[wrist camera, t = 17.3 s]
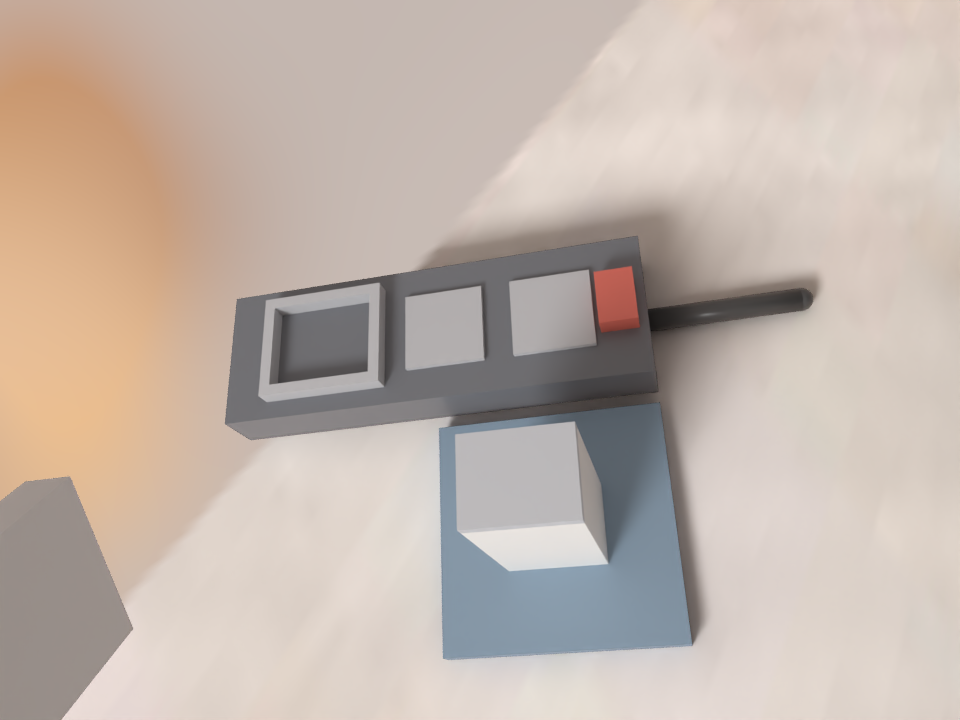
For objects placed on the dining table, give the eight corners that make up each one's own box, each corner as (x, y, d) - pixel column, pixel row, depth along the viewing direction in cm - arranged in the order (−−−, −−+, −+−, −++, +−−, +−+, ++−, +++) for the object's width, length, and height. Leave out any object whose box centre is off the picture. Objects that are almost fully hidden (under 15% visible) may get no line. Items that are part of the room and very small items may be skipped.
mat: (660, 408, 44) (659, 402, 43) (692, 645, 39) (692, 643, 38) (444, 433, 46) (439, 428, 46) (448, 659, 42) (443, 658, 41)
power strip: (797, 239, 46) (805, 196, 42) (826, 371, 43) (839, 337, 39) (260, 320, 53) (226, 289, 49) (250, 440, 49) (213, 417, 46)
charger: (601, 484, 42) (574, 421, 33) (608, 564, 41) (582, 519, 32) (505, 493, 43) (455, 434, 34) (509, 571, 42) (456, 530, 33)
